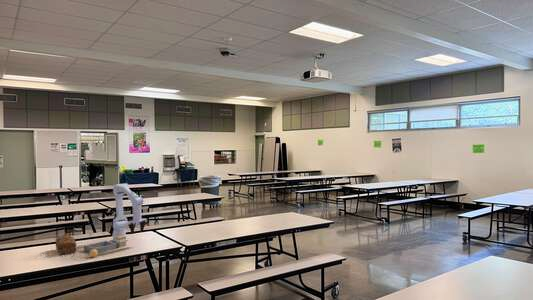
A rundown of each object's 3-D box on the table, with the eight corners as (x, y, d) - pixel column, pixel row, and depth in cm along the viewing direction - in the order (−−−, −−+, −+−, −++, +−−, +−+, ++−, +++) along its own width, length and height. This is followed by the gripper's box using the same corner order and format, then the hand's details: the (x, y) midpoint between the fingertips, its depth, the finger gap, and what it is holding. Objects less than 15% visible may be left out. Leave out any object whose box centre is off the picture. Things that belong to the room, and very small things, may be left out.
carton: (115, 246, 252) (115, 236, 252) (122, 245, 256) (122, 235, 256) (119, 247, 249) (119, 237, 249) (126, 246, 253) (126, 236, 253)
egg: (87, 257, 226) (87, 249, 226) (95, 255, 230) (95, 247, 230) (91, 258, 223) (91, 250, 223) (99, 256, 227) (99, 249, 227)
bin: (84, 250, 242) (84, 245, 242) (106, 245, 255) (106, 240, 255) (94, 253, 233) (94, 248, 233) (116, 248, 247) (116, 243, 247)
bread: (55, 249, 244) (55, 235, 244) (72, 247, 251) (72, 233, 251) (58, 256, 230) (58, 241, 230) (76, 253, 236) (76, 238, 236)
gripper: (131, 216, 244) (131, 235, 244) (149, 213, 256) (149, 231, 256) (125, 215, 248) (125, 234, 248) (143, 212, 260) (143, 230, 260)
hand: (137, 232), depth 252 cm, fingers open, 7 cm apart
